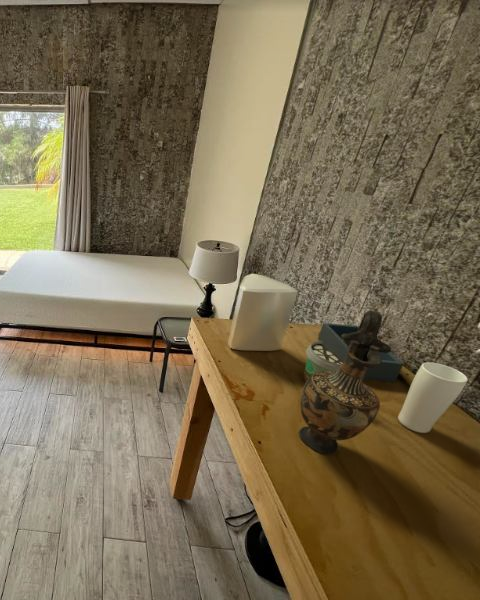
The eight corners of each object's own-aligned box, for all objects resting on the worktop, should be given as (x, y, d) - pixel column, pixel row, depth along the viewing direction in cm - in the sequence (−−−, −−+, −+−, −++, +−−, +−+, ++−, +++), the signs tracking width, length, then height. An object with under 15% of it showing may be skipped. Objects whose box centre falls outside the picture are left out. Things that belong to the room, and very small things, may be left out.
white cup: (420, 440, 68) (454, 385, 62) (385, 417, 74) (413, 365, 67) (441, 433, 70) (477, 378, 63) (406, 411, 75) (435, 359, 69)
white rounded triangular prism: (231, 351, 99) (245, 286, 90) (216, 328, 112) (227, 269, 102) (281, 352, 98) (301, 287, 89) (260, 328, 111) (276, 269, 101)
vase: (282, 442, 68) (326, 320, 55) (296, 410, 76) (337, 298, 63) (350, 476, 61) (419, 345, 48) (358, 437, 69) (419, 317, 56)
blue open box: (354, 342, 102) (361, 326, 100) (394, 382, 85) (403, 364, 82) (317, 338, 104) (323, 322, 102) (349, 377, 87) (357, 359, 84)
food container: (288, 369, 90) (297, 339, 86) (310, 369, 90) (321, 339, 86) (315, 399, 79) (328, 367, 75) (340, 400, 79) (355, 367, 75)
